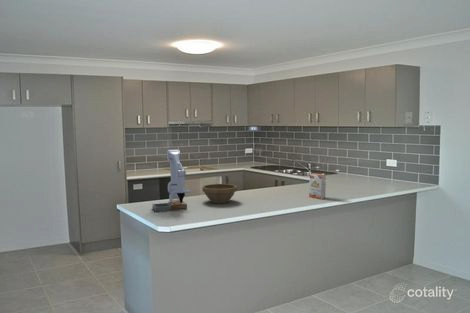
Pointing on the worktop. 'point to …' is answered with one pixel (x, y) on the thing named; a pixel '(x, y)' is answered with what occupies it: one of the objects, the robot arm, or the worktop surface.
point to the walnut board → (178, 206)
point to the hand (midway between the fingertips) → (181, 202)
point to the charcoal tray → (161, 207)
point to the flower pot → (219, 192)
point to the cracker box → (317, 186)
